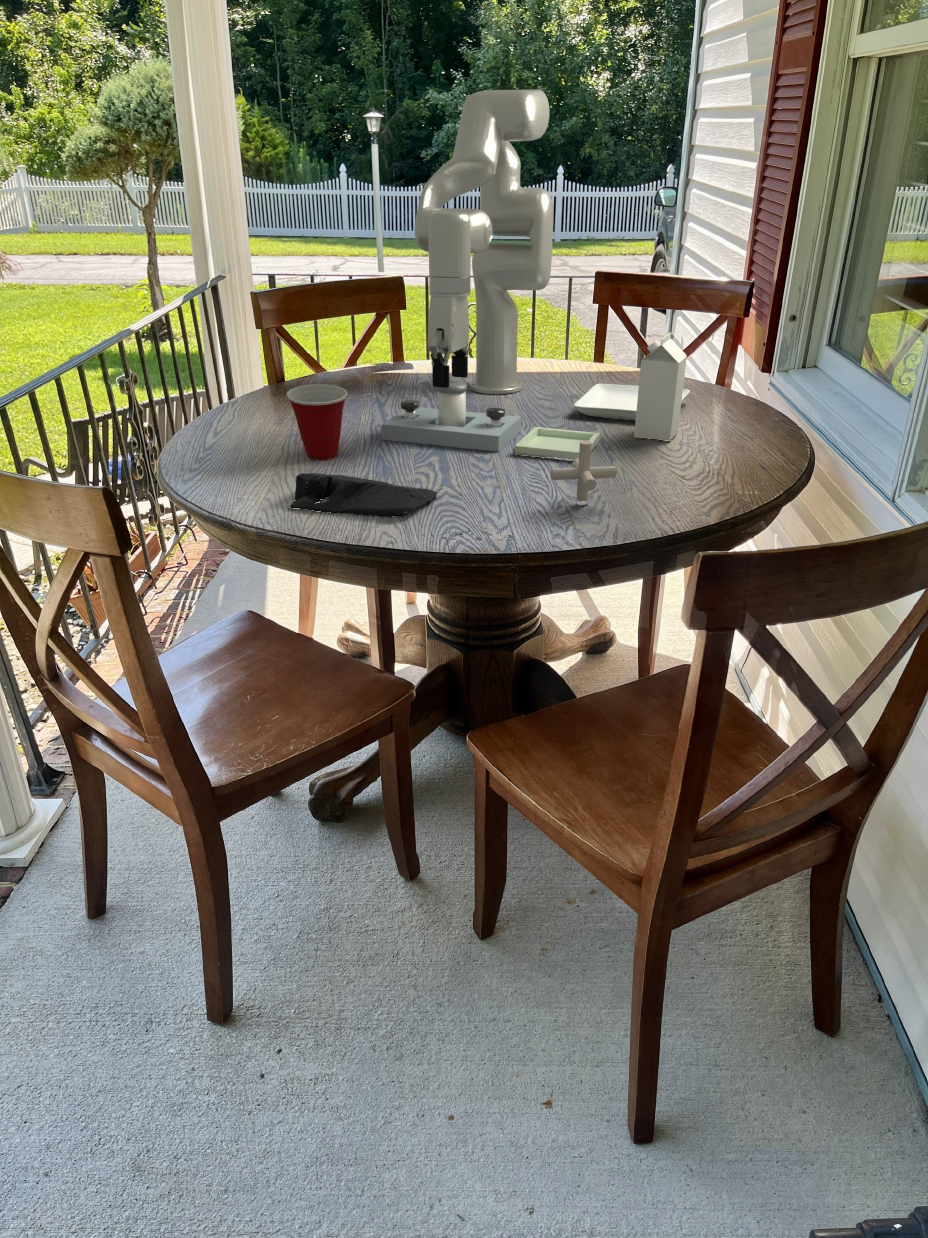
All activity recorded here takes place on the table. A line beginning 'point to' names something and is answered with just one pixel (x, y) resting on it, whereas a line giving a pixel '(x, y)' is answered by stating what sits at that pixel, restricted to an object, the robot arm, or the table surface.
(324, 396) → the plastic cup
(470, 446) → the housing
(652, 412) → the milk carton
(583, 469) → the pipe connector
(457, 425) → the cartridge
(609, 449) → the table surface
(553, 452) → the tray
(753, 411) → the table surface
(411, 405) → the plunger
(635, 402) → the salad plate
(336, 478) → the dark slate chunk
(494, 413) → the plunger
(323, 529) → the table surface
